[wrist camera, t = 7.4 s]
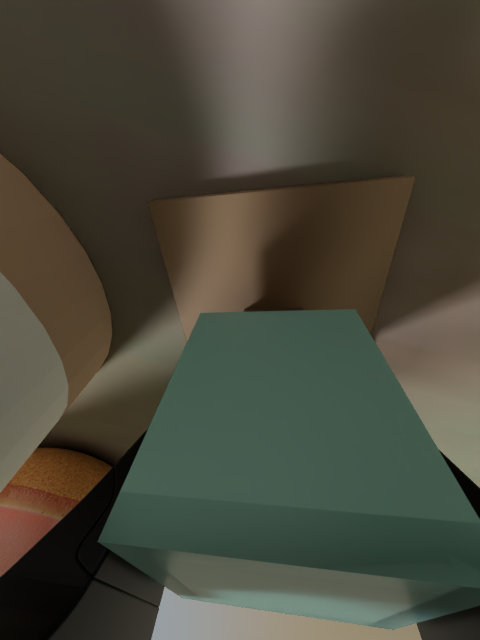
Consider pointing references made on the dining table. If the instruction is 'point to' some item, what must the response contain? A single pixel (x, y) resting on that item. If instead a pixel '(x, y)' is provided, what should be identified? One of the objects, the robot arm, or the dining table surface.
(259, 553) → the teal tilted box
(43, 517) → the vase
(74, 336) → the bowl
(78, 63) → the dining table surface
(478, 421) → the dining table surface
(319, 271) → the post block
